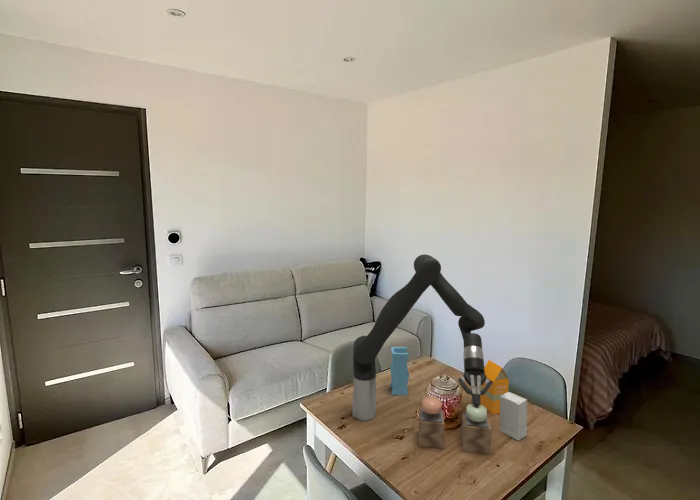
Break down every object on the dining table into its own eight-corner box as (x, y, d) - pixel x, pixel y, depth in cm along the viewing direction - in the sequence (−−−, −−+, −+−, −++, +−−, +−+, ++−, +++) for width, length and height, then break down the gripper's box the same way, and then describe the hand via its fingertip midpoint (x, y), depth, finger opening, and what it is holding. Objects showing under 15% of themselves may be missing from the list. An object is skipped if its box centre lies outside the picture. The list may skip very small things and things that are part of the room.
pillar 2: (463, 451, 137) (464, 425, 136) (461, 436, 146) (462, 411, 145) (489, 454, 135) (491, 428, 134) (485, 438, 144) (487, 414, 143)
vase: (408, 395, 176) (409, 353, 174) (391, 395, 176) (392, 353, 174) (406, 386, 184) (407, 347, 182) (390, 386, 184) (390, 347, 182)
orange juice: (493, 401, 171) (496, 358, 169) (507, 411, 163) (510, 366, 160) (479, 403, 169) (481, 360, 166) (492, 414, 160) (494, 369, 158)
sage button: (467, 420, 136) (467, 412, 136) (465, 410, 143) (465, 402, 143) (488, 422, 135) (488, 414, 135) (484, 412, 142) (485, 404, 141)
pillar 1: (418, 445, 140) (418, 420, 139) (418, 431, 149) (419, 407, 148) (443, 448, 138) (444, 423, 137) (442, 434, 147) (443, 409, 146)
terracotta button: (421, 412, 139) (422, 405, 139) (422, 402, 146) (422, 395, 146) (441, 414, 138) (441, 407, 138) (440, 404, 145) (441, 397, 144)
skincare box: (526, 436, 146) (529, 399, 144) (517, 441, 142) (519, 404, 140) (507, 425, 153) (509, 390, 151) (497, 430, 149) (499, 394, 147)
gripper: (457, 355, 148) (458, 401, 138) (492, 357, 146) (497, 404, 135) (455, 362, 154) (456, 407, 144) (489, 365, 151) (494, 410, 141)
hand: (476, 405), depth 139 cm, fingers closed
